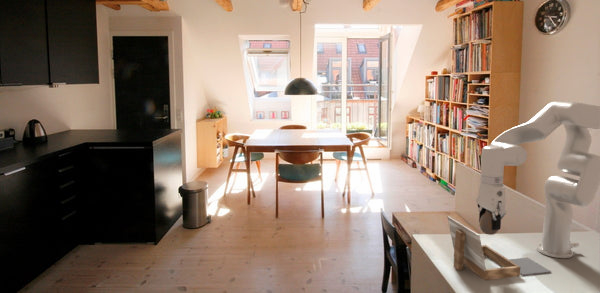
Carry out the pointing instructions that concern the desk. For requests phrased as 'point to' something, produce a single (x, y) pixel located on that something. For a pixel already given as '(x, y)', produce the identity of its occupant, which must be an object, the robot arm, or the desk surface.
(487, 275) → the frame
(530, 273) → the mat
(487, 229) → the vase
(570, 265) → the desk surface
